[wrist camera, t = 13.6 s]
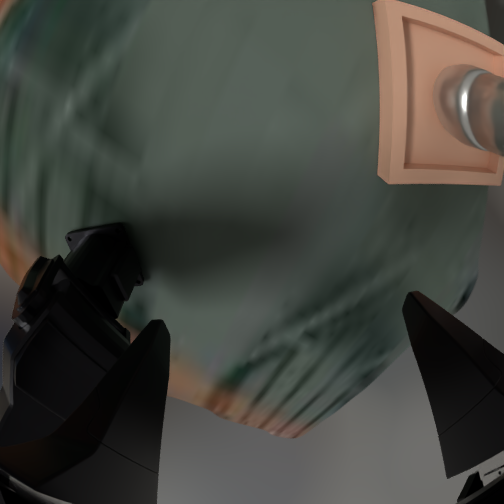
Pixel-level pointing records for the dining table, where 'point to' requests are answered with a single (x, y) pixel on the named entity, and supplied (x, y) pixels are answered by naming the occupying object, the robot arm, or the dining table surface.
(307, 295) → the dining table surface
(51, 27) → the dining table surface
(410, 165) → the tray
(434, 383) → the robot arm
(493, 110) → the plastic bottle
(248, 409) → the dining table surface
